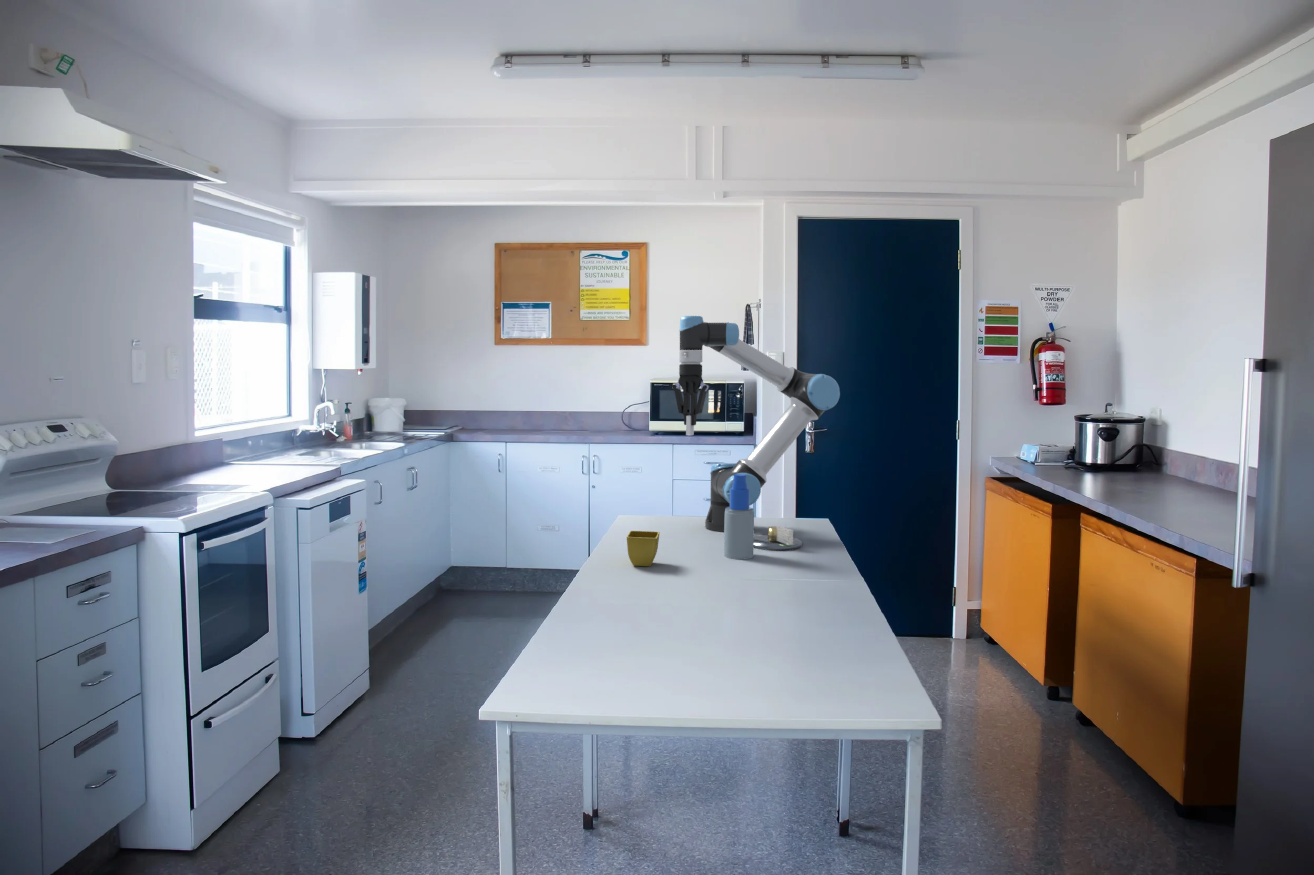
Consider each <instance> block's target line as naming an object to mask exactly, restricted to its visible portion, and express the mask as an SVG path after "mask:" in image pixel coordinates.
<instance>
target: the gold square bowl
mask: <svg viewBox="0 0 1314 875" xmlns="http://www.w3.org/2000/svg"><path fill="white" fill-rule="evenodd" d="M660 533H661V532H660V531H651V530H650V531H649V530H647V531H646V530H629V532H628V534H627V535H626V546H627V553H628V558H629V560H630V563H631V564H632V566H634V567H651V566H652V565H653V561H655V558H656V555H657V552H658V549H659V548H658V547H659V543H660V542H659V540H660Z"/></svg>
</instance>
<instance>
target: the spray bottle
mask: <svg viewBox="0 0 1314 875" xmlns="http://www.w3.org/2000/svg"><path fill="white" fill-rule="evenodd" d="M749 500H750V489H749V488H747V483H746V474H734V482H733V488H730V507H727V508H726V509H725V524H724V531H723V532H724V536H723V540H724V541H723V556H724V557H726V558H728V559H733V560H748V559H752V558H754V537H755V534H754V533H755V511H754V510H755V509H754V508H753V507H750V506H749Z"/></svg>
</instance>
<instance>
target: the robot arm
mask: <svg viewBox="0 0 1314 875" xmlns="http://www.w3.org/2000/svg"><path fill="white" fill-rule="evenodd" d="M739 328H740V327H739V325H738V324H737V323H734V322H729V321H728V322H706V321H704V318H703V316H701V315H684V316H681V318H680V321H679V330H678V332H679V363H680V364H679V368H678V370H679V372H678V374H679V378H678V381H677V382H676V383H675V384H672V385H671V387H672V390H673V392H674V396H675V401H676V405H677V410H678V413H679V414H682V415H683V424H684V426H685V436H690V437H691V436H694V435H695V434H694V433H695V426H696V425H697V415H701V414H702V413H703V408H704V404H705V401H706V396H707V393H708V391H709V389H710V385H709V384H706V383H705V382H704V379H703V365H702V364H701V363H702V362H703V346H705V347H707V348H710V349H713V350H714V351H715V352H718V353H719V354H721V355H723V356H725V357H726V358H727V359H730V360H731V361H732V362H735V363H736V364H738V365H740V366H742V367H743V368H745V369H747V370H748V371H750V372H752V373H754V374H755V375H757V376H758V377H760V378H762V379H763V380H765V381H767V382H768V383H771V384H772V385H774V386H775V387H776V388H777V391H778V392H780V393H781V394H783V395H785V396H786V397H788V398H789V399H790V405H789V406H788V407H787V408H786V410H785V411H784V413H783V414H781V416H780V417H779V419H778V420H777V421H776V422H775V423H774V424H773V426H772V427H771V428H770V429H769V431H768V432H767V433H766V434H765V435H764V437H763V438H761V440H760V441H759V443H758V444H757V445H756V446H755V447H754V449H753V450H752V451H751V452H750V453H749V454H748V455H747V457H746V458H740V459H739V460H737V462H736V463H733V462H732V463H712V465H711V466H710V472H709V473H710V506H709V508H708V511H707V516H706V518H705V522H704V523H705V524H704V525H705V526H704V528H705V529H708V530H710V531H714V532H715V531H716V532H724V524H725V509H726V508H727V507H730V488H733V482H734V474H746V483H747V488H749V489H750V500H749V507H750V506H752V505H753V504H755V503H756V502H757V501H758V500H759V498H760V496H761V492H762V487H763V486H764V485H765V484H766V483H767V474H768V473H769V472H770V471H771V469H772V468H773V467H774V466H775V465H776V463H777V462H778V461H779V460H780V458H781V457H782V456H783V455H784V454H785V453H786V452H787V450H788V449H789V448H790V447H791V445H792V444H793V443H794V442H795V440H796V439H797V438H798V437H799V435H800V434H801V433H802V431H803V430H804V429H806V427H807V426H808V425H809V423H810V422H811V421H817V420H819V419H820V418H821V416H822V415H823V413H825V411H828V410H830V409H832V408H834V407H835V406H837V403H838V402H839V399H840V397H841V391H840V386H839V384H838V382H837V381H836V380H835V379H834V378H833V377H832V376H830V375H826V374H824V373H817V374H816V373H808V372H803V371H800V370H798V369H796V368H794V367H792V366H791V367H787V366H785V365H784V364H783V363H780V362H778V361H777V360H775V359H774V358H772V357H770V356H768V355H767V354H765V353H763V352H762V351H760V350H758V349H757V348H755V347H753V346H752V345H750V344H748V343H746V342H745V341H743V340H742V339H740V329H739ZM699 389H700V392H699ZM698 393H699V394H698Z"/></svg>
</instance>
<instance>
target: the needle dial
mask: <svg viewBox="0 0 1314 875" xmlns="http://www.w3.org/2000/svg"><path fill="white" fill-rule="evenodd" d="M767 528H768V529H767V535H768V540H769V541H774V542H778V541H779V542H782V543H784V544H787V545H791V544H793V538H794V530H793V529H790V528H787V527H784V526H781V525H780V526H775V525H774V526H768V527H767Z"/></svg>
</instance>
